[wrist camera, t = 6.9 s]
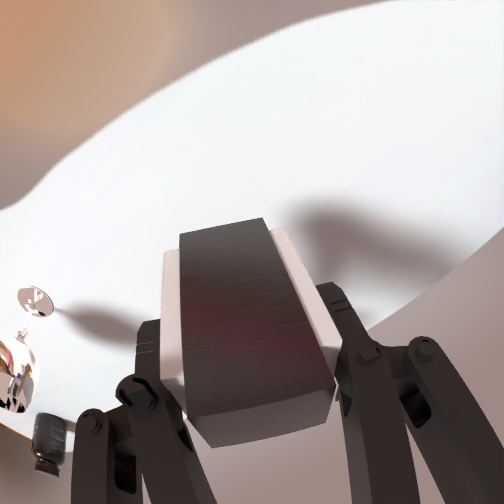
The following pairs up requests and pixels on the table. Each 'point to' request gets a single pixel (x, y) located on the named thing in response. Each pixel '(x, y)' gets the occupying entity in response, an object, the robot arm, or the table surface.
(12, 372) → the wineglass
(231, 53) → the table surface
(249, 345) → the grey hammer
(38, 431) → the supplement bottle
